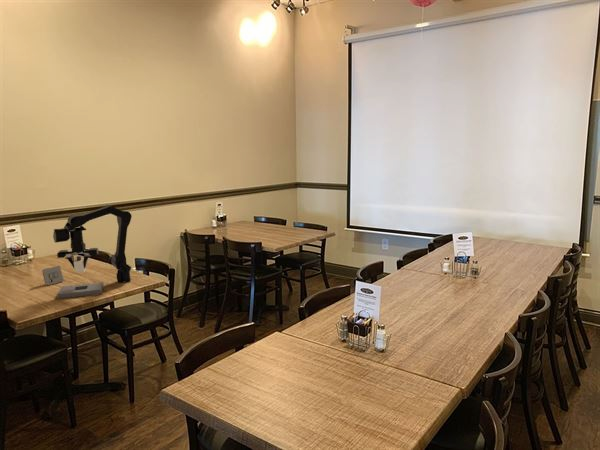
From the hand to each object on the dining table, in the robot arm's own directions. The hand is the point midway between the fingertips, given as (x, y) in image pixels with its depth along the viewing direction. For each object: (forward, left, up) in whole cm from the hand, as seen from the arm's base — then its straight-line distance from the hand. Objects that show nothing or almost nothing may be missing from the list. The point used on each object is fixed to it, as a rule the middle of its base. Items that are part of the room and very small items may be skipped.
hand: (79, 268), depth 236 cm
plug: (0, 0, -2) cm, 2 cm away
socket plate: (0, +4, -12) cm, 13 cm away
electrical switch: (+18, -19, -12) cm, 29 cm away
